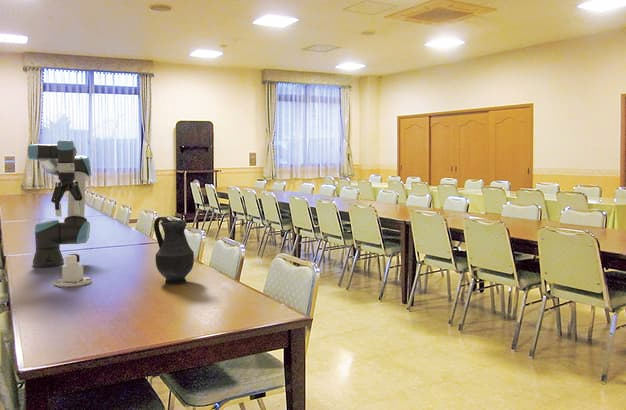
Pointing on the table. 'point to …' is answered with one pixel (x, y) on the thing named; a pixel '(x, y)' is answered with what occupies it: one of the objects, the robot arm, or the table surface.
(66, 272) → the medicine bottle
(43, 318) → the table surface
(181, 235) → the pitcher
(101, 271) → the table surface
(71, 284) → the flange
